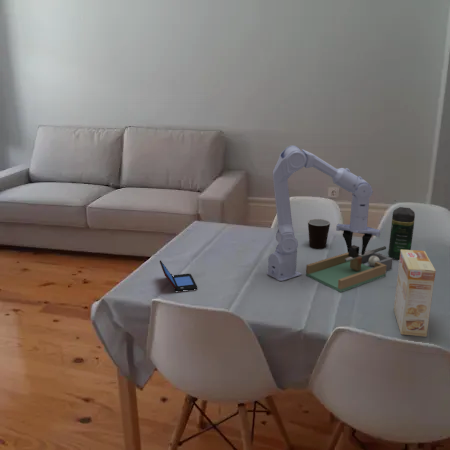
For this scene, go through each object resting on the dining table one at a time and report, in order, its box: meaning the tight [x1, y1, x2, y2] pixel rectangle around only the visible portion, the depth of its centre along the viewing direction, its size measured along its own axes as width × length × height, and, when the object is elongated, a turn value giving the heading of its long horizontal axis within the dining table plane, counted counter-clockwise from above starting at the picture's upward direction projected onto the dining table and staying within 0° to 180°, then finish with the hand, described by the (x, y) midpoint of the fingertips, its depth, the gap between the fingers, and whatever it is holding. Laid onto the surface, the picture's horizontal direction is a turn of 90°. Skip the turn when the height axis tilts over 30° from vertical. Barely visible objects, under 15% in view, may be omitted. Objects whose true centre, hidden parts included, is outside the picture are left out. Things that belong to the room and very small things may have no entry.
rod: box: [345, 244, 387, 271], centre depth 181 cm, size 20×3×8 cm, turn 125°
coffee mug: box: [307, 218, 331, 250], centre depth 205 cm, size 12×9×10 cm
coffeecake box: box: [393, 249, 437, 337], centre depth 144 cm, size 15×7×20 cm, turn 170°
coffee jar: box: [387, 206, 416, 261], centre depth 192 cm, size 10×8×19 cm
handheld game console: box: [159, 260, 198, 292], centre depth 171 cm, size 12×11×7 cm
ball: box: [367, 256, 380, 268], centre depth 185 cm, size 4×4×4 cm
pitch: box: [305, 249, 394, 293], centre depth 179 cm, size 29×16×4 cm, turn 125°
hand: (356, 252), depth 178 cm, fingers open, 4 cm apart
